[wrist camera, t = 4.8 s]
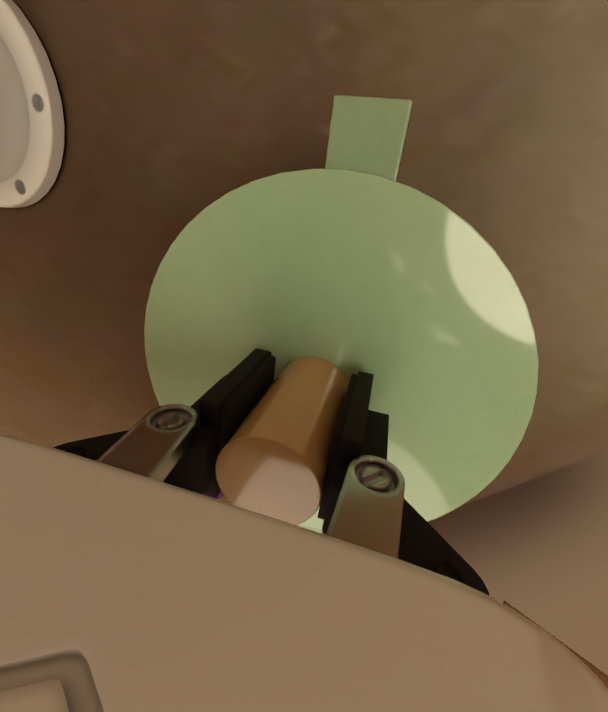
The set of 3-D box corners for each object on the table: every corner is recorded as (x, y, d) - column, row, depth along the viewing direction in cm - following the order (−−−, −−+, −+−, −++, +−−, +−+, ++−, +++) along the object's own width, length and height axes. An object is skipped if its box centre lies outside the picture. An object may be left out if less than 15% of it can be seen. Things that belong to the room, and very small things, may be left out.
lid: (170, 464, 18) (70, 572, 13) (150, 152, 12) (-65, 96, 6) (451, 550, 15) (481, 738, 10) (613, 203, 9) (935, 182, 4)
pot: (243, 420, 26) (179, 503, 19) (258, 134, 18) (156, 75, 11) (422, 470, 23) (432, 590, 16) (531, 159, 15) (656, 104, 8)
